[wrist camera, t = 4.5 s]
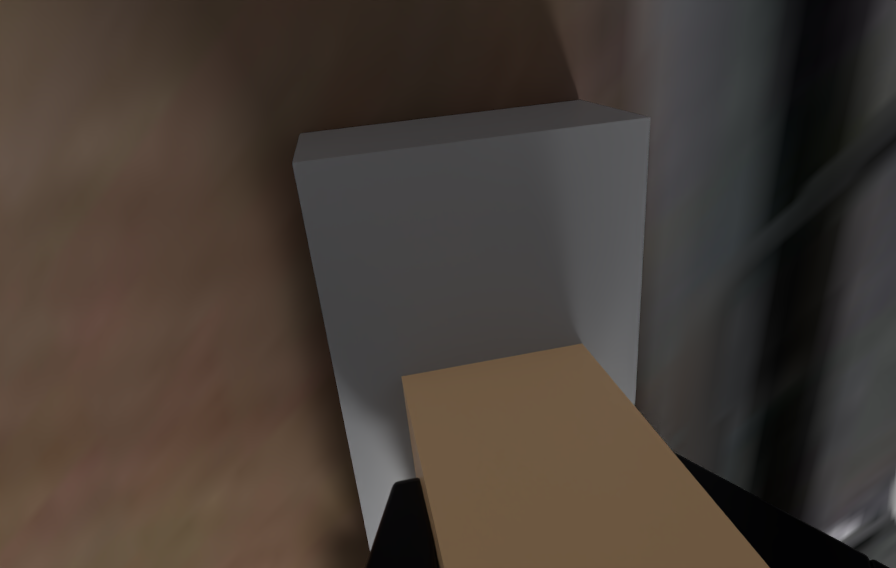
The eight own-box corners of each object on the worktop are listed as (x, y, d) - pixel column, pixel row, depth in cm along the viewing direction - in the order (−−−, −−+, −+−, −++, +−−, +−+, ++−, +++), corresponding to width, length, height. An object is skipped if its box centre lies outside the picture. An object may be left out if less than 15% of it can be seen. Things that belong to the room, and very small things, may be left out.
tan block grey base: (580, 99, 10) (1762, 393, 2) (577, 512, 15) (942, 1198, 6) (299, 133, 10) (112, 855, 1) (380, 556, 14) (471, 1407, 5)
